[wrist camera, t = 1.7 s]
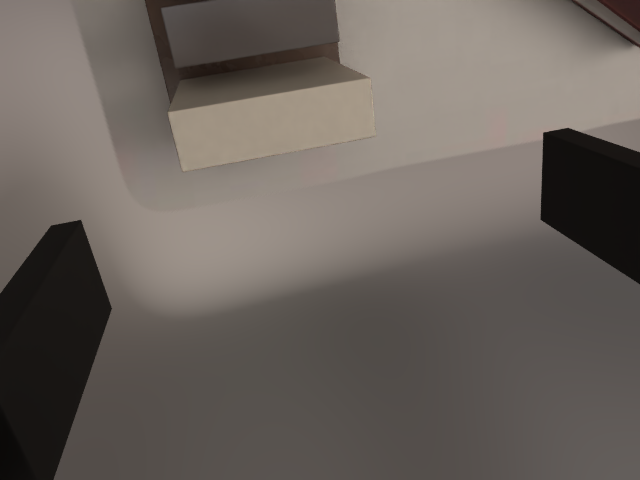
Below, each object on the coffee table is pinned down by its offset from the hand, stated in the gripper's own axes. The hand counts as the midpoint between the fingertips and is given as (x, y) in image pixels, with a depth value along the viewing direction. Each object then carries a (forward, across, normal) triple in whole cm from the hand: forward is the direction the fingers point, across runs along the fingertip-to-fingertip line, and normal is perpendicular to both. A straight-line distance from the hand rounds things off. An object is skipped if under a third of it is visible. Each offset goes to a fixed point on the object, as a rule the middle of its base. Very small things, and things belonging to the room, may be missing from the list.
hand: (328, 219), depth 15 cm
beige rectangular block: (+25, 0, 0) cm, 25 cm away
